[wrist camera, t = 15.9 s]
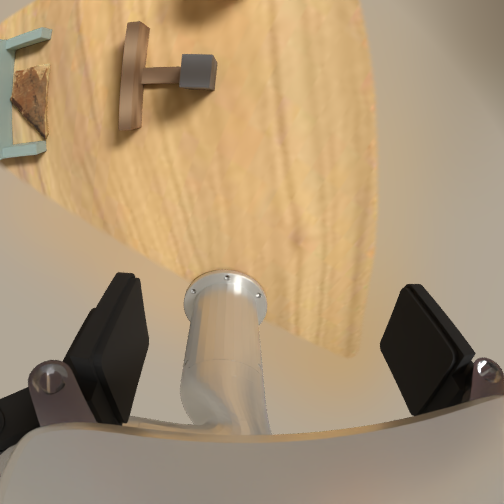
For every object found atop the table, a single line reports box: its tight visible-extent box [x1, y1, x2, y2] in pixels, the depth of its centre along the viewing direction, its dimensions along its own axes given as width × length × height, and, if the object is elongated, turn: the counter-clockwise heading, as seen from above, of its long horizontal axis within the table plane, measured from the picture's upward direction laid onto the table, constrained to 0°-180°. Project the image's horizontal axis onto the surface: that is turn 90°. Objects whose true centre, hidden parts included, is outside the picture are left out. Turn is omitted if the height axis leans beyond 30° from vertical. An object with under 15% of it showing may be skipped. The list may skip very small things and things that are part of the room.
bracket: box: [0, 27, 52, 160], centre depth 26 cm, size 18×8×6 cm, turn 174°
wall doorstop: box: [119, 21, 217, 130], centre depth 28 cm, size 13×10×6 cm
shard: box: [10, 64, 50, 139], centre depth 29 cm, size 11×8×2 cm
